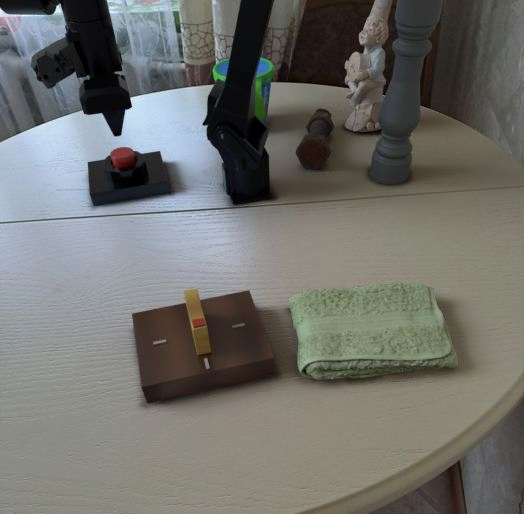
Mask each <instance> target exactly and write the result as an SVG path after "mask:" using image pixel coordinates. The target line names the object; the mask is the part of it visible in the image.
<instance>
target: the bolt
mask: <svg viewBox="0 0 524 514" xmlns="http://www.w3.org/2000/svg"><path fill="white" fill-rule="evenodd" d="M305 129H306V132H307V134H305V135H303V137H302V139H301V141H300V142H299V144H298V146H297V147H296V149H295V155H296V157H297V159H298V161H299V163H300V165H301V166H302V167H303V168H305V169H308V170H320V169H322V168H323V167H324V166H325V164H326V163H327V162H328V160H329V159H330V157H331V155H332V149H331V147H330V145H329V143H328V141H327V140H328V139H329V138H330V136H331V134H332V133H333V131H334V130H335V124H334V121H333V119H332V113H331V112H330V111H329V110H327V109H325V108H317V109H316V110H315V111H314V112H312V114H311V116H310V117H309V119H308V121H307V123H306V124H305Z"/></svg>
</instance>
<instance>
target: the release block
mask: <svg viewBox="0 0 524 514" xmlns="http://www.w3.org/2000/svg"><path fill="white" fill-rule="evenodd" d="M133 151H134V155H135V159H136V163H135V164H134V165H131V166H129V167H124V168H118V167H114V166H113V163H112V159H111V156H110V154H109V155H107V156H106V157H105V158H103V159H97V160H91V161H87V174H88V175H87V177H88V189H89V197H90V200H91V202H92V206H93V207H98V206H103V205H110V204H116V203H121V202H122V203H123V202H127V201H133V200H140V199H146V198H152V197H157V196H158V197H159V196H164V195H170V194H171V189H170V185H169V180H168V175H167V171H166V168H165V164H164V160H163V156H162V153H161V151H160V150H157V151H149V152H140V151H137V150H133Z"/></svg>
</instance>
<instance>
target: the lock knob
mask: <svg viewBox="0 0 524 514" xmlns="http://www.w3.org/2000/svg"><path fill="white" fill-rule="evenodd" d="M183 295H184V302H185V303H186V306H187V311H188V316H189V321H190V325H191V330H192V334H193V338H194V343H195V347H196V351H197V355H201V354H206V353H211V348H210V342H209V336H208V329H207V325H206V321H205V317H204V313H203V309H202V305H201V302H200V300H201V297H200V294H199V291H198V288H192V289H187V290H184V291H183Z"/></svg>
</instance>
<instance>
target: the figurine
mask: <svg viewBox="0 0 524 514" xmlns="http://www.w3.org/2000/svg"><path fill="white" fill-rule="evenodd" d="M393 1H394V0H374V2H373V5H372V8H371V11H370V13H369V15H368V17H367V18H366V20H365V23H364V26H363V30H361V32H359V34H358V41H359V45H361V46H363V47H364V49H363V52H362V53H361V52H358V51H354V52H353V53H352V54H351V55H350V57H349V59H348V60H345V63H344V69H345V70H346V75H345V78H344V83H345V85H346V86H348V88H349V89H350V90H351V91H350V92H348V93H346V94H345V98H346V99H349V101H350V102H349V104H350V106H351V107H354V108H355V109H354V110H353V111H352V112H351V113H350V114H349V116H348V117H347V119H346V120H345V123H344V127H345V129H347V130H349V131H352V132H358V133H365V132H375V131H381V130H382V129H381V128H380V125H379V121H378V116H379V110H380V108H381V105H382V103H383V100H384V98H385V95H384V86H385V85H386V84H387V79H386V78H385V76H384V74H383V72H384V71H385V69H386V68H385V67H386V61H385V60H386V51H385V50H384V49H383V45H384V44H385V43H386V41H387V40H388V38H389V26H388V20H389V16H390V11H391V9H392V4H393Z"/></svg>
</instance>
